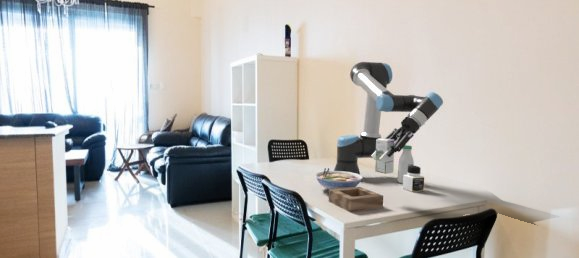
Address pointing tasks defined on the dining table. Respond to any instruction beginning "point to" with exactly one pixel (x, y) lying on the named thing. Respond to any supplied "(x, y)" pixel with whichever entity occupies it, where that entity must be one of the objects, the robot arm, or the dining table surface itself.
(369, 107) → the robot arm
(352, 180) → the ramen bowl
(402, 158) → the milk bottle
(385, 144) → the syrup box
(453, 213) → the dining table surface
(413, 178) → the medicine bottle
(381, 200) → the walnut holder
